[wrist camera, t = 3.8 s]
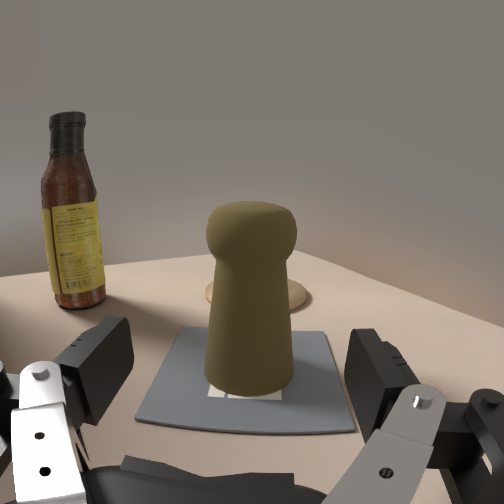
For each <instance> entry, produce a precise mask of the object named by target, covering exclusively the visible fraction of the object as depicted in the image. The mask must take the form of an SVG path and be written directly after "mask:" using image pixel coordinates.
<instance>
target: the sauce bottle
mask: <svg viewBox="0 0 504 504" xmlns="http://www.w3.org/2000/svg"><path fill="white" fill-rule="evenodd" d="M85 118H86V117H85V114H84V113H83V112H79V111H66V112H60V113H56V114H53V115H52V116H51V117H50V121H49V129H50V131H51V143H50V147H51V148H50V149H51V150H50V153H49V154H50V160H49V163H48V166H47V169H46V171H45V173H44V175H43V177H42V180H41V195H42V220H43V229H44V237H45V245H46V253H47V260H48V266H49V272H50V278H51V284H52V289H53V292H54V293H55V300H56V302H57V304H59V305H61V306H63V307H65V308H71V309H78V308H86V307H89V306H93V305H95V304H97V303H99V302H100V301H102V300H103V299H104V298H105V297H106V289H105V273H104V265H103V257H102V249H101V241H100V240H101V239H100V230H99V217H98V208H97V192H96V189H95V186H94V183H93V180H92V177H91V174H90V170H89V167H88V163H87V160H86V157H85V154H84V148H83V147H84V128H85V125H86V120H85Z"/></svg>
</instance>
